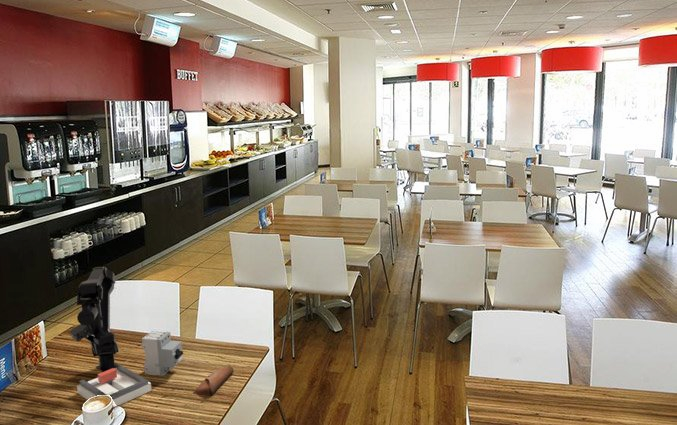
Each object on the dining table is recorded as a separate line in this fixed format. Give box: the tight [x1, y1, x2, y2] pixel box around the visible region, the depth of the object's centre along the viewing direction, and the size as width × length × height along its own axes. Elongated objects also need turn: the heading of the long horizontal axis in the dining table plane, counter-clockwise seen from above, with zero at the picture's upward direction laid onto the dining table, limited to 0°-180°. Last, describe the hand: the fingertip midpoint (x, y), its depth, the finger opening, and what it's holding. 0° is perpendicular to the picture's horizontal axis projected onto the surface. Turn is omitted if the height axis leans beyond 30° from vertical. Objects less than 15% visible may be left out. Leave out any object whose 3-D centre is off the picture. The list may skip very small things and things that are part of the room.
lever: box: [97, 368, 117, 385], centre depth 204 cm, size 2×6×6 cm, turn 140°
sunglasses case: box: [192, 365, 234, 397], centre depth 206 cm, size 18×7×7 cm
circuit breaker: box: [141, 330, 184, 377], centre depth 215 cm, size 8×14×15 cm, turn 78°
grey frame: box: [78, 364, 149, 400], centre depth 201 cm, size 20×16×2 cm
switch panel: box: [76, 369, 153, 406], centre depth 201 cm, size 20×18×3 cm
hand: (97, 354), depth 206 cm, fingers closed
